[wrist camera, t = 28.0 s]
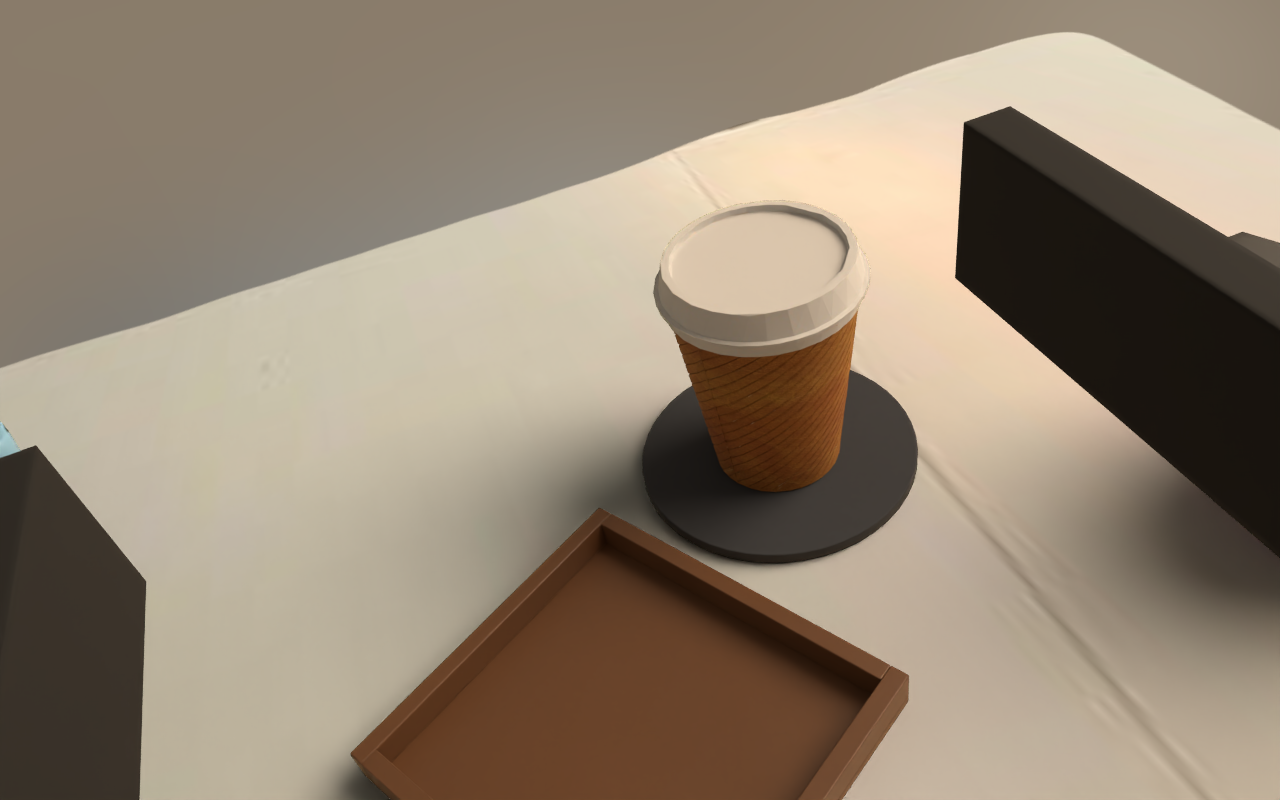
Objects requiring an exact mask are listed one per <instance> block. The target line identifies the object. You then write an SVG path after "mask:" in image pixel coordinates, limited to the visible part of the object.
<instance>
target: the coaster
mask: <svg viewBox="0 0 1280 800" xmlns="http://www.w3.org/2000/svg"><path fill="white" fill-rule="evenodd" d="M695 393H696V392H695V391H694V388H693V386H691V387H689V388H688V389H686V390H685V391H683V392H682V393H681V394H680V395H679V396H677V397H676V398H675V399H674V400H673V401H672V402H671V403H670V404H669V405H668V406H667V407H666V408H665V409H664V410H663V411H662V413H661V414H660V415H659V417H658V418H657V420H656V421H655V422H654V424H653V426H652V428H651V430H650V432H649V434H648V437H647V440H646V443H645V446H644V452H643V458H642V466H643V476H644V481H645V485H646V489H647V492H648V495H649V497H650V500H651V502H652V504H653V506H654V507H655V509H656V510H657V512H658V513H659V515H660V516H661V517H662V518H663V519H664V521H665V522H666V523H667V524H668V525H669V526H670V527H671V528H672V529H674V530H675V531H676V532H677V533H678V534H680V535H681V536H682V537H684V538H685V539H687V540H689V541H690V542H692V543H694V544H695V545H697V546H699V547H702V548H704V549H706V550H708V551H710V552H713V553H716V554H720V555H723V556H726V557H729V558H734V559H739V560H745V561H753V562H764V563H776V562H793V561H801V560H808V559H812V558H816V557H821V556H825V555H828V554H831V553H834V552H836V551H839V550H842V549H845V548H847V547H849V546H851V545H853V544H855V543H857V542H859V541H861V540H862V539H864V538H866V537H867V536H869V535H870V534H872V533H874V532H875V531H876V530H877V529H879V528H880V527H881V526H882V525H883V524H885V523H886V522H887V521H888V520H889V519H890V518H891V517H892V516H893V515H894V514H895V512H896V511H897V510H898V509H899V508H900V506H901V505H902V503H903V502H904V500H905V499H906V497H907V496H908V494H909V491H910V489H911V487H912V485H913V482H914V478H915V474H916V470H917V457H918V448H917V440H916V435H915V432H914V429H913V426H912V423H911V421H910V419H909V417H908V416H907V414H906V412H905V411H904V409H903V408H902V407H901V405H900V404H899V403H898V401H897V400H896V399H895V398H894V397H893V396H892V395H891V394H889V393H888V392H887V391H886V390H885V389H883V388H882V387H881V386H879V385H878V384H877V383H875V382H874V381H872V380H870V379H868V378H866V377H865V376H863V375H861V374H858V373H856V372H854V371H851V370H850V371H849V379H848V388H847V397H846V403H845V410H844V418H843V425H842V433H841V441H840V451H839V454H838V457H837V460H836V462H835V464H834V465H833V466H832V468H831V469H830V470H829V471H828V472H827V473H826V474H825V475H824V476H823V477H822V478H820V479H818V480H817V481H815V482H813V483H812V484H809V485H807V486H804V487H802V488H799V489H794V490H790V491H780V492H768V491H759V490H755V489H751V488H749V487H746V486H744V485H741V484H739V483H737V482H736V481H734V480H733V479H731V478H730V477H729V476H728V475H727V474H726V473H725V472H724V471H723V469H722V468H721V466H720V463H719V461H718V458H717V454H716V452H715V449H714V446H713V445H714V444H713V443H712V440H711V436H710V434H709V432H708V427H707V426H706V423H705V419H704V417H703V414H702V410H701V408H700V406H699V403H698V402H699V401H698V400H697V397H696V394H695Z"/></svg>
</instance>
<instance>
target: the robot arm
mask: <svg viewBox="0 0 1280 800" xmlns="http://www.w3.org/2000/svg"><path fill="white" fill-rule="evenodd" d="M955 278H956V279H957V280H958V281H959V282H961V283H962V284H963V285H964V286H965V287H966V288H968V289H969V290H970V291H971V292H972V293H973V294H974V295H976V296H977V297H978V298H979V299H980V300H981V301H983V302H984V303H985V304H986V305H987V306H988V307H990V308H991V309H992V310H993V311H994V312H995V313H996V314H998V315H999V316H1000V317H1001V318H1002V319H1003V320H1005V321H1006V322H1007V323H1008V324H1009V325H1010V326H1012V327H1013V328H1014V329H1015V330H1016V331H1017V332H1019V333H1020V334H1021V335H1022V336H1023V337H1024V338H1025V339H1027V340H1028V341H1029V342H1030V343H1031V344H1032V345H1034V346H1035V347H1036V348H1037V349H1038V350H1039V351H1041V352H1042V353H1043V354H1044V355H1045V356H1046V357H1047V358H1049V359H1050V360H1051V361H1052V362H1053V363H1054V364H1056V365H1057V366H1058V367H1059V368H1060V369H1061V370H1063V371H1064V372H1065V373H1066V374H1067V375H1068V376H1069V377H1071V378H1072V379H1073V380H1074V381H1075V382H1076V383H1078V384H1079V385H1080V386H1081V387H1082V388H1083V389H1085V390H1086V391H1087V392H1088V393H1089V394H1090V395H1092V396H1093V397H1094V398H1095V399H1096V400H1097V401H1098V402H1100V403H1101V404H1102V405H1103V406H1104V407H1105V408H1107V409H1108V410H1109V411H1110V412H1111V413H1112V414H1114V415H1115V416H1116V417H1117V418H1118V419H1119V420H1120V421H1122V422H1123V423H1124V424H1125V425H1126V426H1127V427H1129V428H1130V429H1131V430H1132V431H1133V432H1134V433H1136V434H1137V435H1138V436H1139V437H1140V438H1141V439H1142V440H1144V441H1145V442H1146V443H1147V444H1148V445H1149V446H1151V447H1152V448H1153V449H1154V450H1155V451H1156V452H1158V453H1159V454H1160V455H1161V456H1162V457H1163V458H1165V459H1166V460H1167V461H1168V462H1169V463H1170V464H1171V465H1173V466H1174V467H1175V468H1176V469H1177V470H1178V471H1180V472H1181V473H1182V474H1183V475H1184V476H1185V477H1187V478H1188V479H1189V480H1190V481H1191V482H1192V483H1193V484H1195V485H1196V486H1197V487H1198V488H1199V489H1200V490H1202V491H1203V492H1204V493H1205V494H1206V495H1207V496H1209V497H1210V498H1211V499H1212V500H1213V501H1214V502H1216V503H1217V504H1218V505H1219V506H1220V507H1221V508H1222V509H1224V510H1225V511H1226V512H1227V513H1228V514H1229V515H1231V516H1232V517H1233V518H1234V519H1235V520H1236V521H1238V522H1239V523H1240V524H1241V525H1242V526H1243V527H1244V528H1246V529H1247V530H1248V531H1249V532H1250V533H1251V534H1253V535H1254V536H1255V537H1256V538H1257V539H1258V540H1260V541H1261V542H1262V543H1263V544H1264V545H1265V546H1266V547H1268V548H1269V549H1270V550H1271V551H1272V552H1273V553H1275V554H1276V555H1277V556H1278V557H1279V558H1280V243H1278V242H1275V241H1271V240H1268V239H1265V238H1261V237H1258V236H1255V235H1251V234H1248V233H1245V232H1241V233H1238V234H1235V235H1233V236H1230V237H1227V236H1225V235H1224V234H1222V233H1220V232H1219V231H1217V230H1215V229H1214V228H1212V227H1210V226H1209V225H1207V224H1205V223H1204V222H1202V221H1200V220H1199V219H1197V218H1195V217H1194V216H1192V215H1190V214H1189V213H1187V212H1185V211H1184V210H1182V209H1180V208H1179V207H1177V206H1175V205H1174V204H1172V203H1170V202H1169V201H1167V200H1165V199H1164V198H1162V197H1160V196H1159V195H1157V194H1155V193H1154V192H1152V191H1150V190H1149V189H1147V188H1145V187H1144V186H1142V185H1140V184H1139V183H1137V182H1135V181H1134V180H1132V179H1130V178H1129V177H1127V176H1125V175H1124V174H1122V173H1120V172H1119V171H1117V170H1115V169H1114V168H1112V167H1110V166H1109V165H1107V164H1105V163H1104V162H1102V161H1100V160H1099V159H1097V158H1095V157H1094V156H1092V155H1090V154H1089V153H1087V152H1085V151H1084V150H1082V149H1080V148H1079V147H1077V146H1075V145H1074V144H1072V143H1070V142H1069V141H1067V140H1065V139H1064V138H1062V137H1060V136H1059V135H1057V134H1055V133H1054V132H1052V131H1050V130H1049V129H1047V128H1045V127H1044V126H1042V125H1040V124H1039V123H1037V122H1035V121H1034V120H1032V119H1030V118H1029V117H1027V116H1025V115H1024V114H1022V113H1020V112H1019V111H1017V110H1015V109H1014V108H1012V107H1007V108H1004V109H1001V110H998V111H995V112H993V113H990V114H987V115H984V116H981V117H978V118H975V119H972V120H970V121H967V122H964V131H963V149H962V167H961V185H960V203H959V220H958V238H957V256H956V274H955ZM145 601H146V581H145V579H144V578H143V577H142V576H141V575H140V573H139V572H138V571H137V570H136V568H135V567H134V566H133V565H132V563H131V562H130V561H129V560H128V558H127V557H126V556H125V555H124V554H123V552H122V551H121V550H120V549H119V547H118V546H117V545H116V544H115V542H114V541H113V540H112V539H111V537H110V536H109V535H108V534H107V533H106V531H105V530H104V529H103V528H102V526H101V525H100V524H99V523H98V521H97V520H96V519H95V518H94V516H93V515H92V514H91V513H90V511H89V510H88V509H87V508H86V507H85V505H84V504H83V503H82V502H81V500H80V499H79V498H78V497H77V495H76V494H75V493H74V492H73V490H72V489H71V488H70V487H69V486H68V484H67V483H66V482H65V481H64V479H63V478H62V477H61V476H60V474H59V473H58V472H57V471H56V469H55V468H54V467H53V466H52V465H51V463H50V462H49V461H48V460H47V458H46V457H45V456H44V455H43V453H42V452H41V451H40V450H39V448H38V447H37V446H33V447H30V448H27V449H24V450H20V449H19V447H18V445H17V444H16V442H15V441H14V439H13V437H12V436H11V434H10V433H9V431H8V430H7V429H6V428H5V426H4V425H3V424H2V423H1V421H0V800H139V795H140V763H141V730H142V698H143V666H144V633H145Z"/></svg>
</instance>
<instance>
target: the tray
mask: <svg viewBox="0 0 1280 800" xmlns="http://www.w3.org/2000/svg"><path fill="white" fill-rule="evenodd" d="M908 691H909V675H907V674H905V673H904V672H902V671H900V670H898V669H896V668H894V667H893V666H891V667H890V665H889V664H887V663H885V662H883V661H881V660H879V659H878V658H876V657H874V656H872V655H870V654H868V653H867V652H865V651H863V650H861V649H859V648H857V647H856V646H854V645H852V644H850V643H848V642H846V641H845V640H843V639H841V638H839V637H837V636H835V635H834V634H832V633H830V632H828V631H826V630H824V629H822V628H821V627H819V626H817V625H815V624H813V623H811V622H810V621H808V620H806V619H804V618H802V617H800V616H799V615H797V614H795V613H793V612H791V611H789V610H788V609H786V608H784V607H782V606H780V605H778V604H776V603H775V602H773V601H771V600H769V599H767V598H765V597H764V596H762V595H760V594H758V593H756V592H754V591H753V590H751V589H749V588H747V587H745V586H743V585H742V584H740V583H738V582H736V581H734V580H732V579H731V578H729V577H727V576H725V575H723V574H721V573H719V572H718V571H716V570H714V569H712V568H710V567H708V566H707V565H705V564H703V563H701V562H699V561H697V560H696V559H694V558H692V557H690V556H688V555H686V554H685V553H683V552H681V551H679V550H677V549H675V548H674V547H672V546H670V545H668V544H666V543H664V542H662V541H661V540H659V539H657V538H655V537H653V536H651V535H650V534H648V533H646V532H644V531H642V530H640V529H639V528H637V527H635V526H633V525H631V524H629V523H628V522H626V521H624V520H622V519H620V518H618V517H616V516H615V515H613V514H610V513H609V512H607V511H605V510H603V509H601V508H598V509H597V510H596V511H595V512H594V513H593V514H592V515H591V516H590V517H589V518H588V519H587V520H586V521H585V522H584V523H583V524H582V525H581V526H580V527H579V528H578V529H577V530H576V531H575V532H574V533H573V534H572V535H571V536H570V537H569V538H568V539H567V540H566V541H565V542H564V543H563V544H562V545H561V546H560V547H559V548H558V549H557V550H556V551H555V552H554V553H553V554H552V555H551V556H550V557H549V558H548V559H547V560H546V561H545V562H544V563H543V564H542V565H541V566H540V567H539V568H538V569H537V570H536V571H535V572H534V573H533V574H532V575H531V576H530V577H529V578H528V579H527V580H526V581H524V582H523V583H522V584H521V585H520V586H519V587H518V588H517V589H516V590H515V591H514V592H513V593H512V594H511V595H510V596H509V597H508V598H507V599H506V600H505V601H504V602H503V603H502V604H501V605H500V606H499V607H498V608H497V609H496V610H495V611H494V612H493V613H492V614H491V615H490V616H489V617H488V618H487V619H486V620H485V621H484V622H483V623H482V624H481V625H480V626H479V627H478V628H477V629H476V630H475V631H474V632H473V633H472V634H471V635H470V636H469V637H468V638H467V639H466V640H465V641H464V642H463V643H462V644H461V645H460V646H459V647H458V648H457V649H456V650H455V651H454V652H453V653H452V654H451V655H450V656H449V657H448V658H446V659H445V660H444V661H443V662H442V663H441V664H440V665H439V666H438V667H437V668H436V669H435V670H434V671H433V672H432V673H431V674H430V675H429V676H428V677H427V678H426V679H425V680H424V681H423V682H422V683H421V684H420V685H419V686H418V687H417V688H416V689H415V690H414V691H413V692H412V693H411V694H410V695H409V696H408V697H407V698H406V699H405V700H404V701H403V702H402V703H401V704H400V705H399V706H398V707H397V708H396V709H395V710H394V711H393V712H392V713H391V714H390V715H389V716H388V717H387V718H386V719H385V720H384V721H383V722H382V723H381V724H380V725H379V726H378V727H377V728H376V729H375V730H374V731H373V732H372V733H371V734H369V735H368V736H367V737H366V738H365V739H364V740H363V741H362V742H361V743H360V744H359V745H358V746H357V747H356V748H355V749H354V750H353V751H352V752H351V756H352V758H353V759H354V761H355V762H356V763H357V765H358V766H359V768H360V769H361V770H362V772H363V773H364V775H365V776H366V777H367V778H368V779H369V780H370V781H371V782H373V783H374V784H375V785H376V786H377V787H378V788H379V789H380V790H381V791H382V792H383V793H384V794H386V795H387V796H388V797H389V798H390V799H391V800H842V799H843V797H844V796H845V794H846V793H847V791H848V790H849V788H850V787H851V785H852V784H853V782H854V781H855V779H856V778H857V776H858V775H859V773H860V772H861V770H862V769H863V767H864V766H865V765H866V763H867V762H868V760H869V759H870V757H871V756H872V754H873V753H874V751H875V750H876V748H877V747H878V745H879V744H880V742H881V741H882V739H883V738H884V736H885V735H886V733H887V732H888V730H889V729H890V727H891V726H892V724H893V723H894V721H895V720H896V718H897V717H898V715H899V714H900V713H901V711H902V710H903V708H904V707H905V705H906V704H907V702H908Z"/></svg>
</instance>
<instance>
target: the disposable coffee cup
mask: <svg viewBox="0 0 1280 800" xmlns="http://www.w3.org/2000/svg"><path fill="white" fill-rule="evenodd" d="M869 283H870V266H869V262H868V259H867V256H866V254H865V253H864V251H863V250H862V249H861V247H860V246H859V244H858V241H857V238H856V236H855V234H854V233H853V231H852V229H851V228H850V227H849V225H848V224H847V223H846V222H844V221H843V220H842V219H841V218H839V217H838V216H837V215H835V214H833V213H831V212H829V211H827V210H825V209H823V208H820V207H816V206H813V205H809V204H805V203H800V202H793V201H759V202H751V203H744V204H736V205H733V206H729V207H726V208H722V209H719V210H716V211H714V212H711V213H708V214H706V215H704V216H702V217H700V218H699V219H697V220H695V221H693V222H692V223H690V224H688V225H687V226H686V227H684V228H683V229H682V230H680V231H679V232H678V233H677V234H676V235H675V236H674V237H673V238H672V239H671V240H670V242H669V243H668V245H667V246H666V248H665V249H664V252H663V255H662V259H661V262H660V270H659V272H658V274H657V276H656V278H655V285H654V292H653V294H654V298H655V302H656V306H657V308H658V310H659V312H660V314H661V316H662V317H663V319H664V320H665V321H666V322H667V323H668V324H669V326H670V327H671V329H672V330H673V331H674V333H675V334H676V335H675V336H676V339H677V342H678V344H680V345H679V348H680V351H681V353H682V354H683V355H682V357H683V359H684V362H685V364H686V368H687V371H688V373H690V374H689V377H690V380H691V382H692V386H693V388H694V391H695V392H696V393H695V394H696V397H697V400H698V401H699V402H698V403H699V406H700V408H701V410H702V414H703V417H704V419H705V423H706V426H707V427H708V432H709V434H710V436H711V440H712V443H713V444H714V445H713V446H714V449H715V452H716V454H717V458H718V461H719V463H720V466H721V468H722V469H723V471H724V472H725V473H726V474H727V475H728V476H729V477H730V478H731V479H733V480H734V481H736V482H737V483H739V484H741V485H744V486H746V487H749V488H751V489H755V490H759V491H768V492H780V491H790V490H794V489H799V488H802V487H804V486H807V485H809V484H812V483H813V482H815V481H817V480H818V479H820V478H822V477H823V476H824V475H825V474H826V473H827V472H828V471H829V470H830V469H831V468H832V466H833V465H834V464H835V462H836V460H837V457H838V454H839V451H840V441H841V433H842V425H843V418H844V410H845V403H846V397H847V388H848V379H849V371H850V366H851V357H852V351H853V342H854V335H855V327H856V319H857V312H858V309H859V307H860V304H861V302H862V300H863V299H864V297H865V295H866V292H867V289H868V286H869Z"/></svg>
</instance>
